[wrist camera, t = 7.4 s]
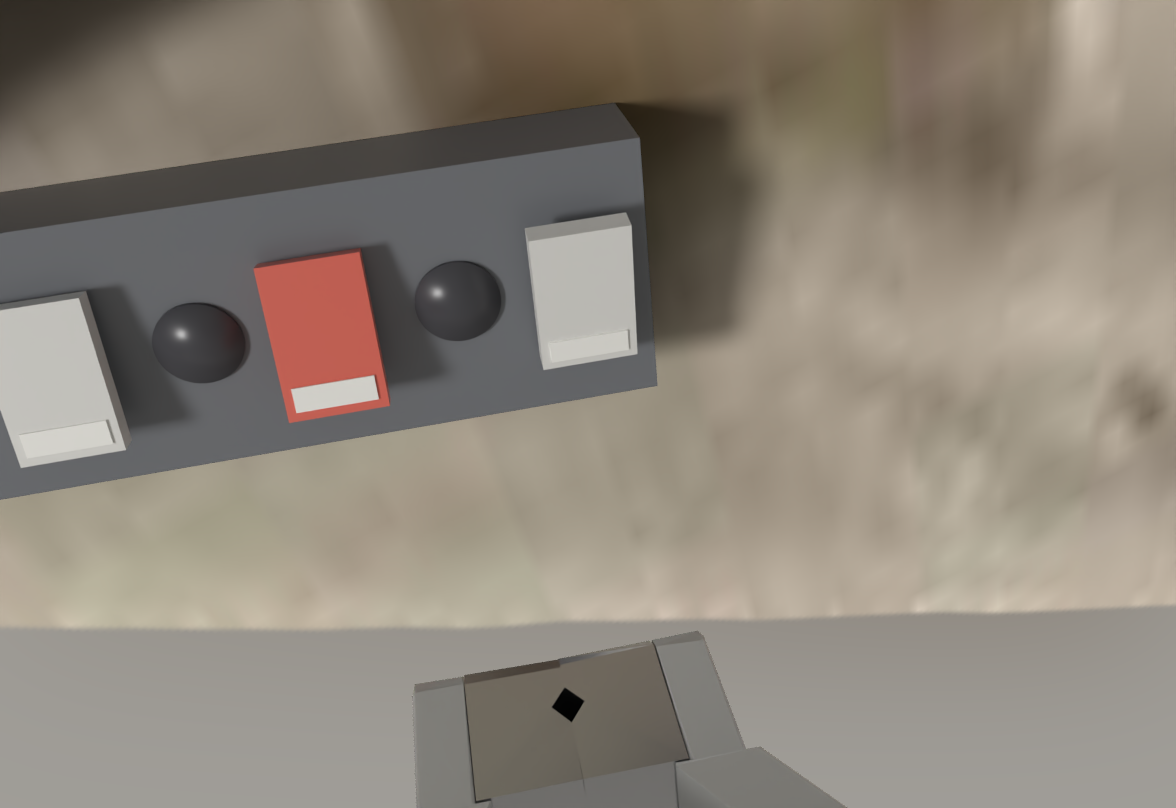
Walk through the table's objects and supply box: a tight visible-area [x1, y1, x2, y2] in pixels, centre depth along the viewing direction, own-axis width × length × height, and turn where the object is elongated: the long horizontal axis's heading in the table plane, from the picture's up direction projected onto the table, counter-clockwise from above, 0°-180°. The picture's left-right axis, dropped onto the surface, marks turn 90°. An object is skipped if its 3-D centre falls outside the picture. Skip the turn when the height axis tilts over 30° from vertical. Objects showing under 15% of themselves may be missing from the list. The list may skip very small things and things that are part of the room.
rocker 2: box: [525, 212, 637, 370], centre depth 35 cm, size 3×5×1 cm, turn 6°
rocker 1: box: [0, 291, 132, 468], centre depth 34 cm, size 3×5×1 cm, turn 5°
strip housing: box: [0, 103, 657, 500], centre depth 37 cm, size 25×9×4 cm, turn 95°
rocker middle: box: [253, 248, 391, 423], centre depth 35 cm, size 3×5×1 cm, turn 5°
